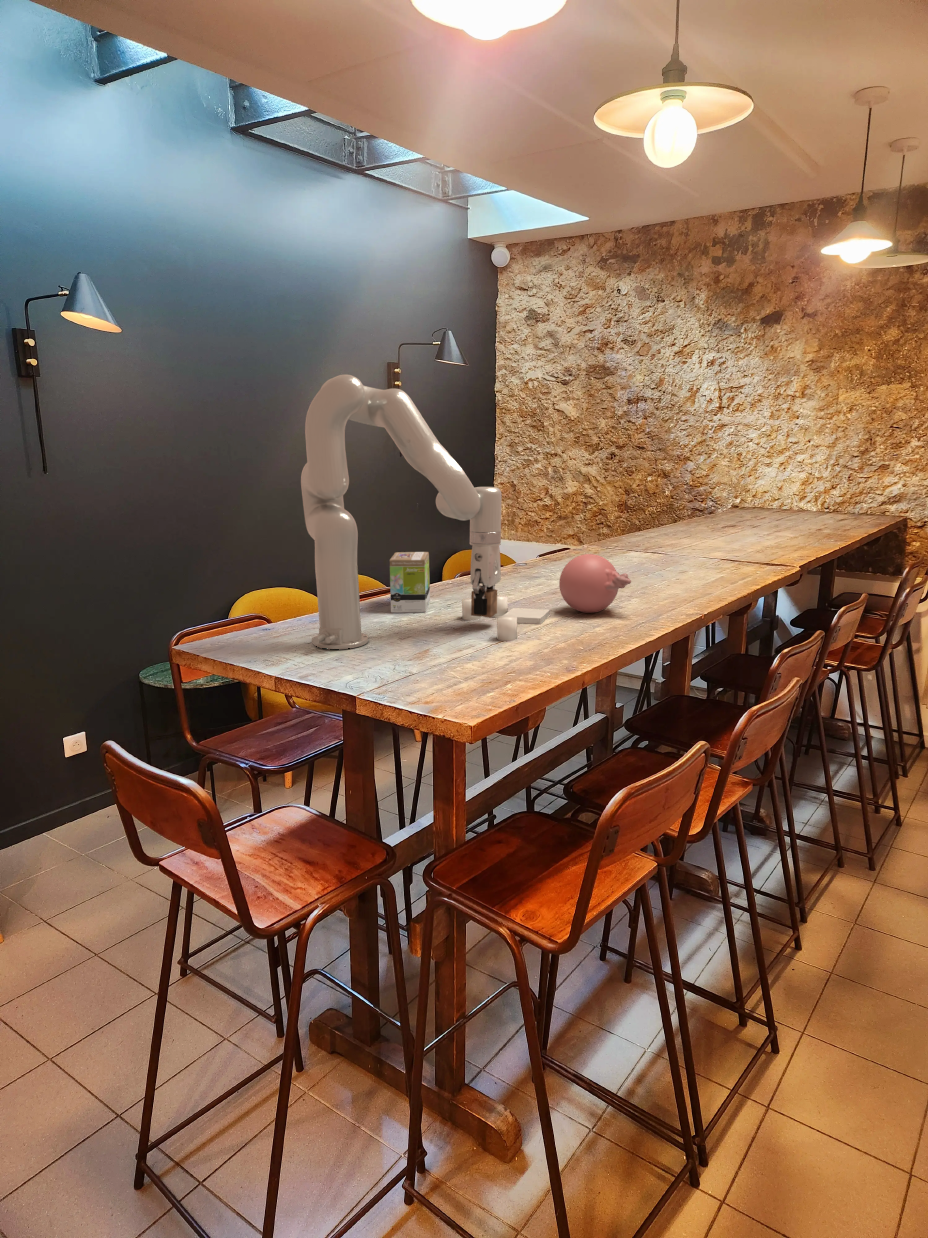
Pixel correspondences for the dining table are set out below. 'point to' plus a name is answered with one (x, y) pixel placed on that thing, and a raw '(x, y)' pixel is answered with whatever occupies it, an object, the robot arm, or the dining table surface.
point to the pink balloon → (590, 583)
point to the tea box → (409, 582)
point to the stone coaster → (529, 615)
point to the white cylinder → (501, 605)
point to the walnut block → (491, 603)
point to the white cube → (467, 610)
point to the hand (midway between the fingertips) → (484, 611)
